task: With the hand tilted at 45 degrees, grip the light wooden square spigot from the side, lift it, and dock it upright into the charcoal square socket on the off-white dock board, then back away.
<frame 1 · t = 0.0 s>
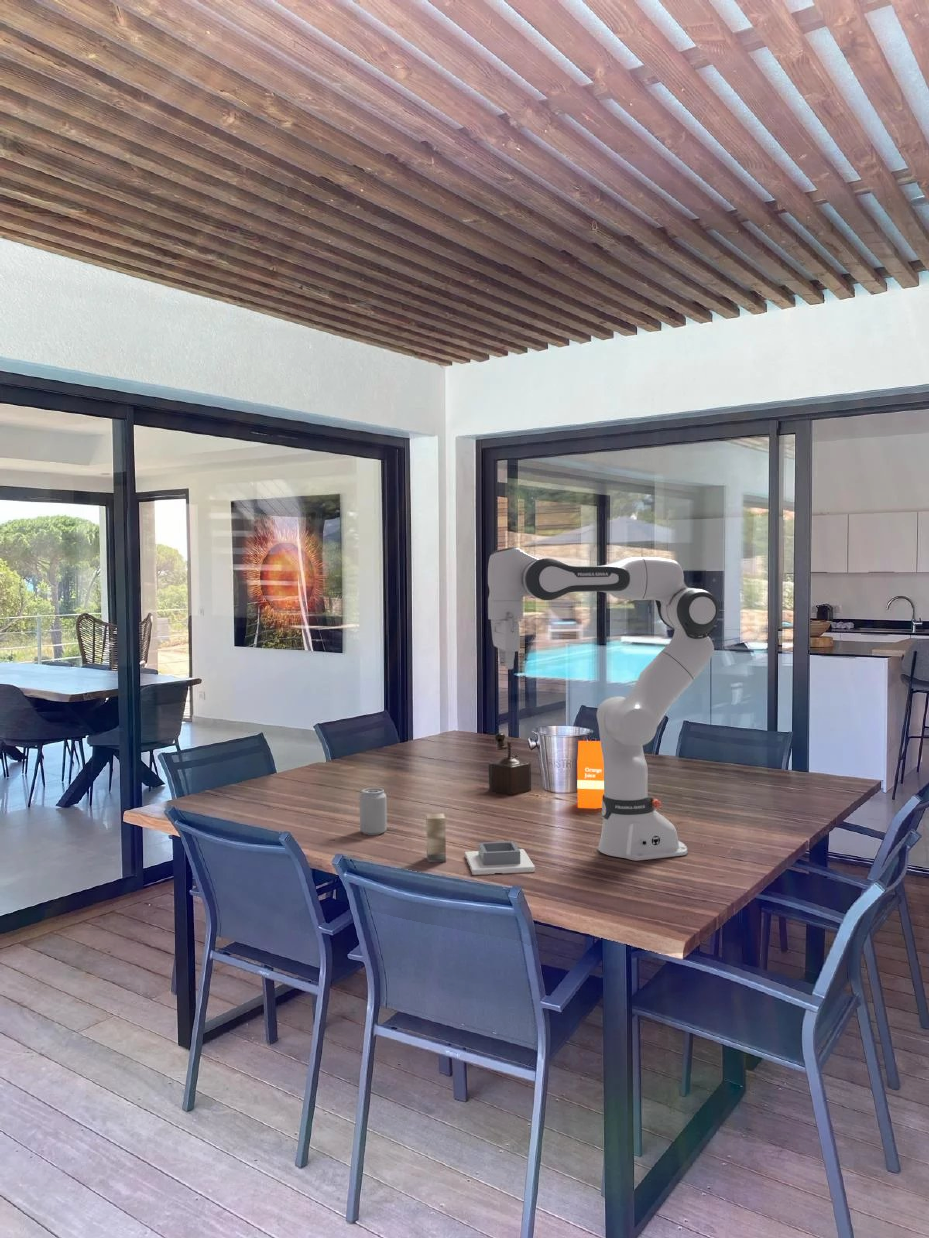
hand: (506, 667, 232), 48 cm above the table, tool pointing down, fingers open, 8 cm apart
dock: (499, 863, 228), on the table
can: (373, 833, 258), on the table
orange juice: (592, 805, 286), on the table
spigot: (436, 859, 232), on the table
manual coffee grinder: (505, 790, 309), on the table
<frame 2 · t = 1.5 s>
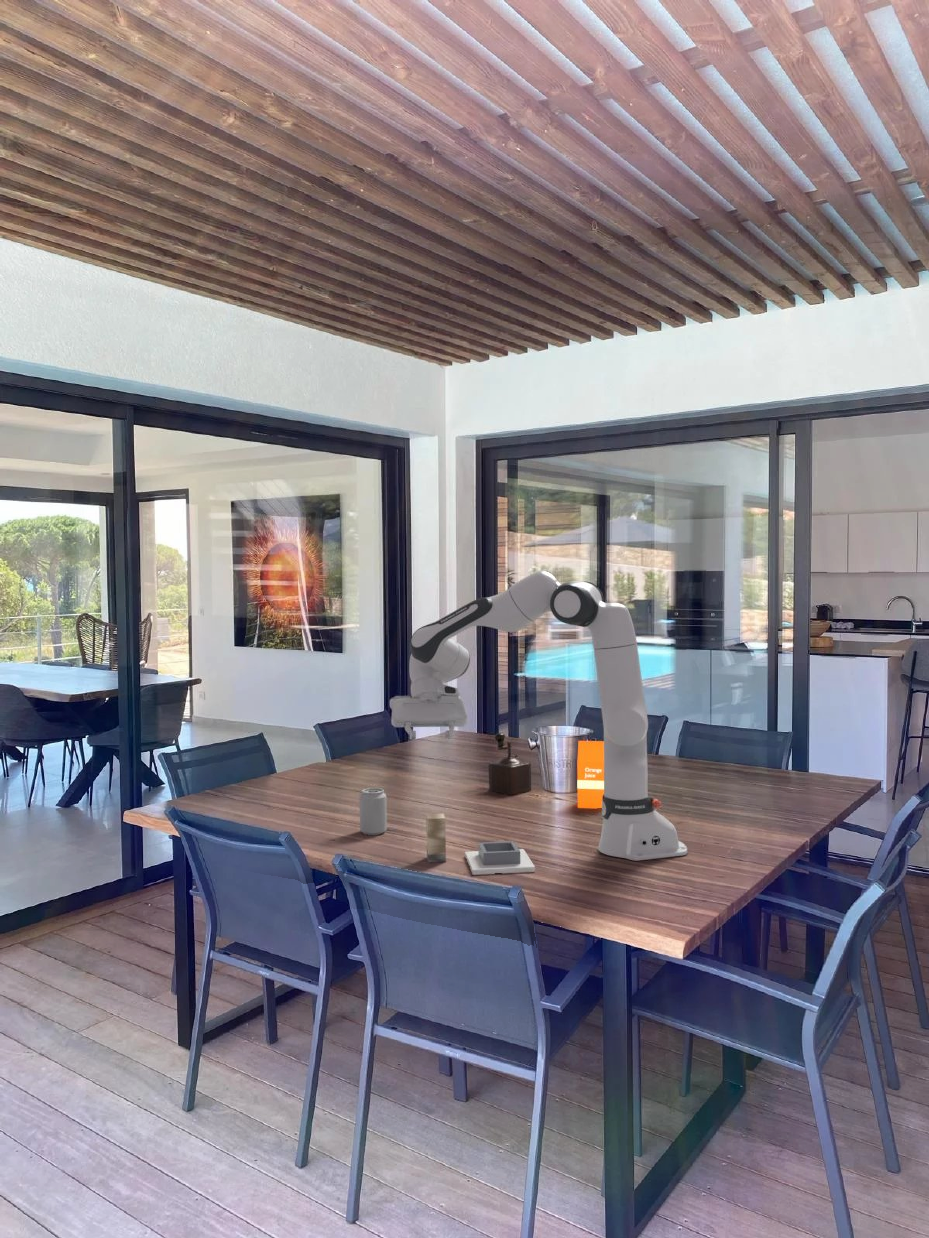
hand: (430, 738, 243), 29 cm above the table, tool tilted 45°, fingers open, 8 cm apart
nothing on the table moved.
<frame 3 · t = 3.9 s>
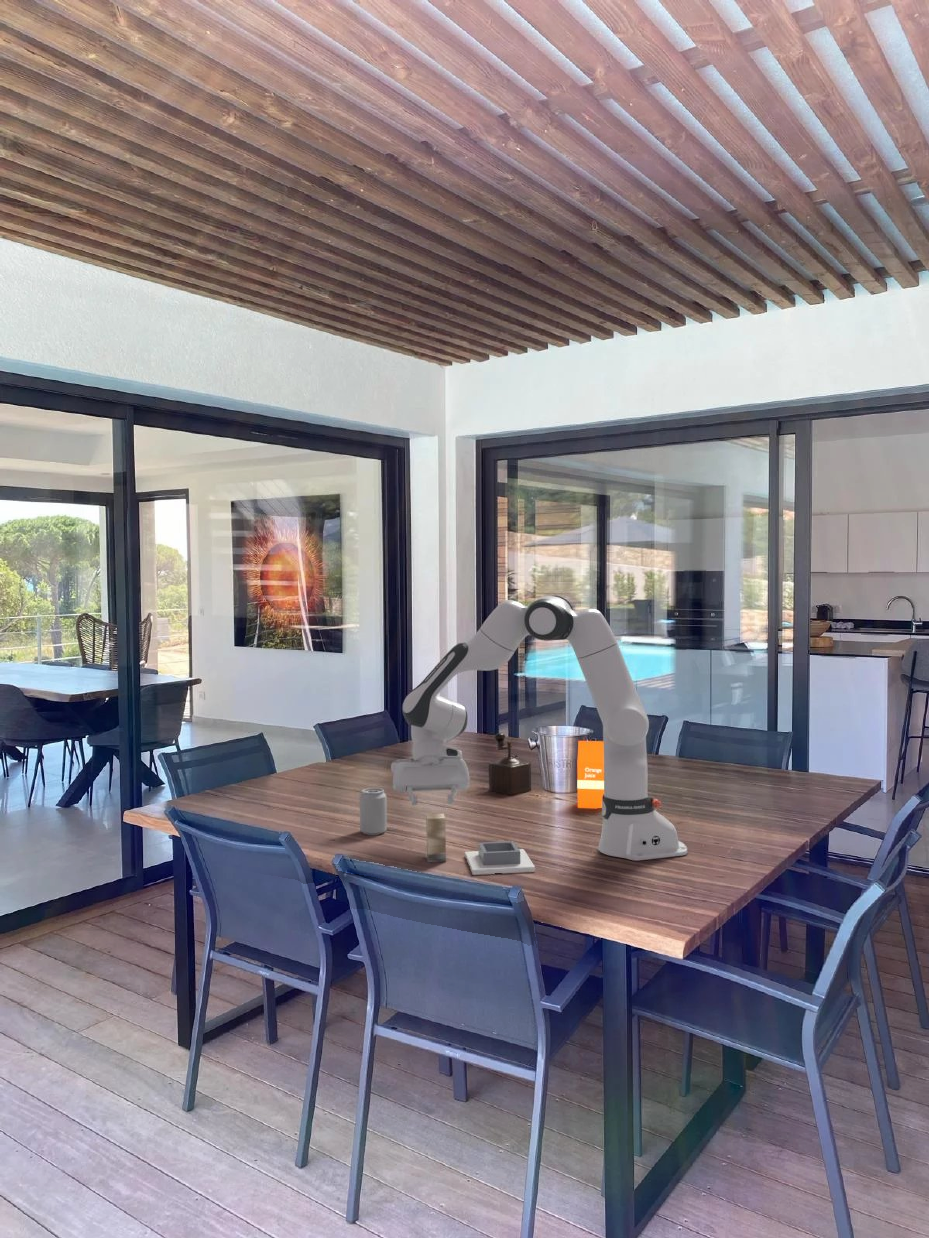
hand: (432, 803, 239), 12 cm above the table, tool tilted 45°, fingers open, 8 cm apart
nothing on the table moved.
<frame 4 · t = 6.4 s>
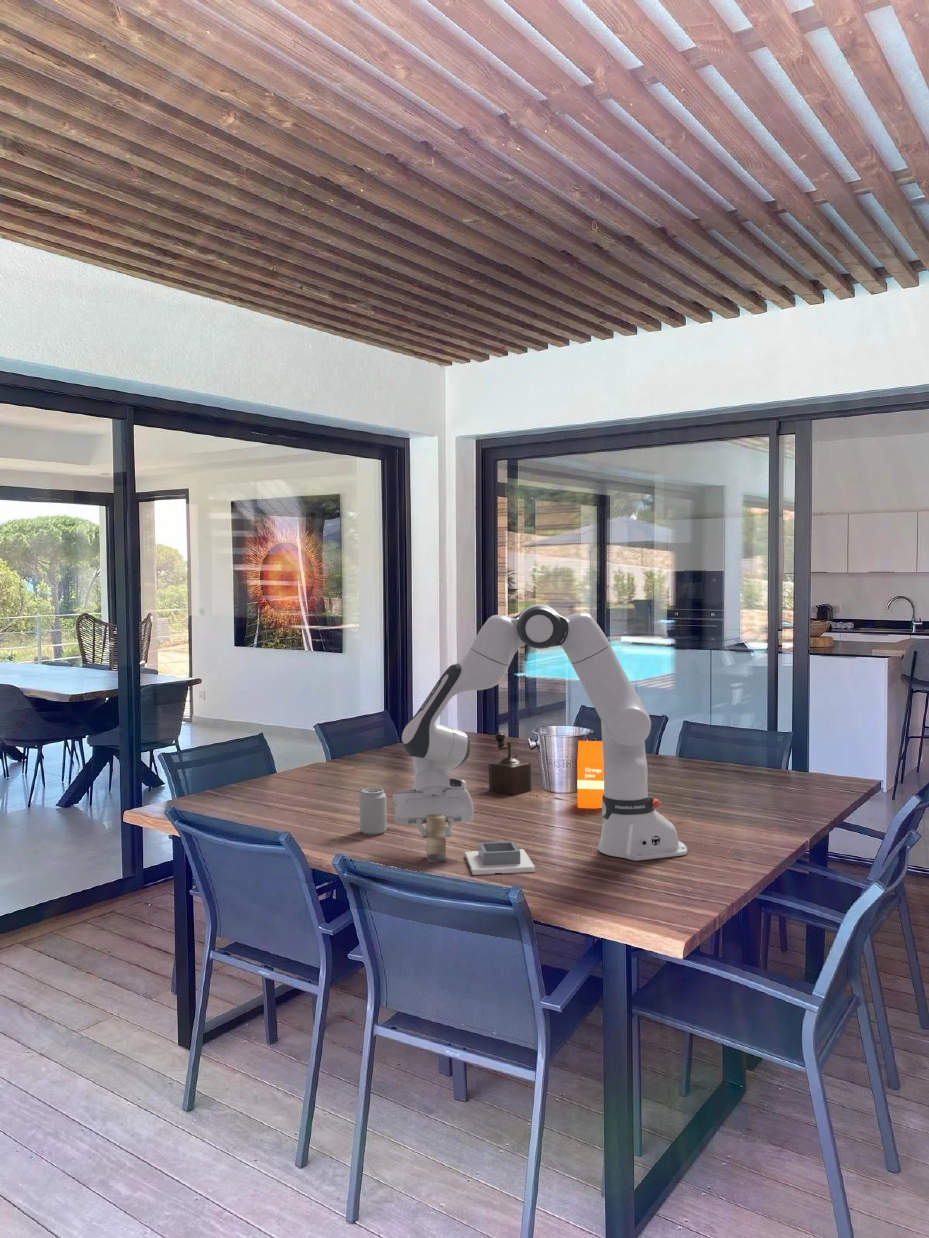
hand: (436, 836, 231), 6 cm above the table, tool tilted 45°, fingers closed on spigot, 4 cm apart
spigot: (436, 859, 232), on the table, touching gripper
everything else where it was.
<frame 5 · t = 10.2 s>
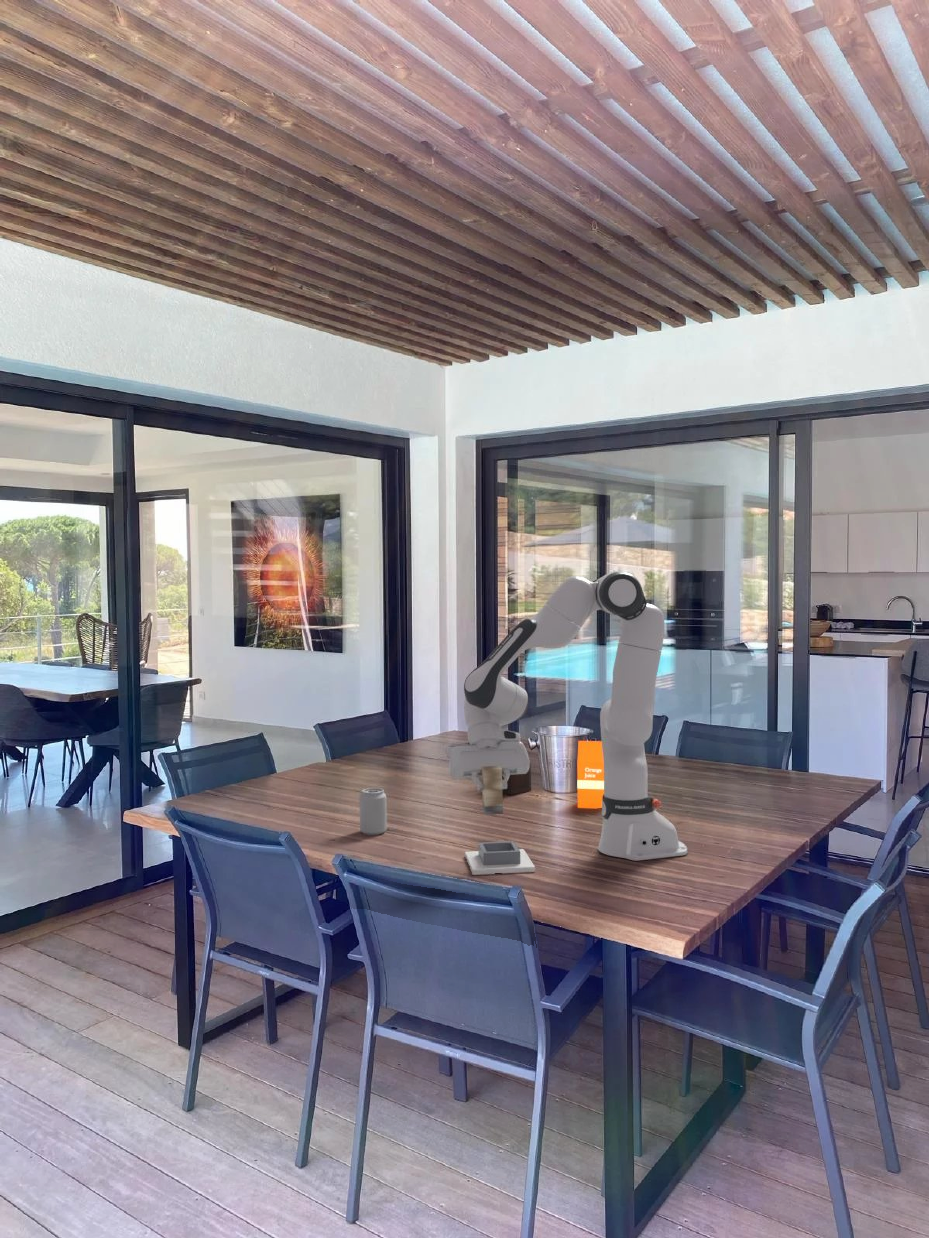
hand: (492, 788, 227), 19 cm above the table, tool tilted 45°, fingers closed on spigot, 4 cm apart
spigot: (492, 811, 228), point 13 cm above the table, touching gripper
everything else where it was.
when the fingers open (8 cm above the table, at t = 14.0 s): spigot drops 1 cm, resting on dock.
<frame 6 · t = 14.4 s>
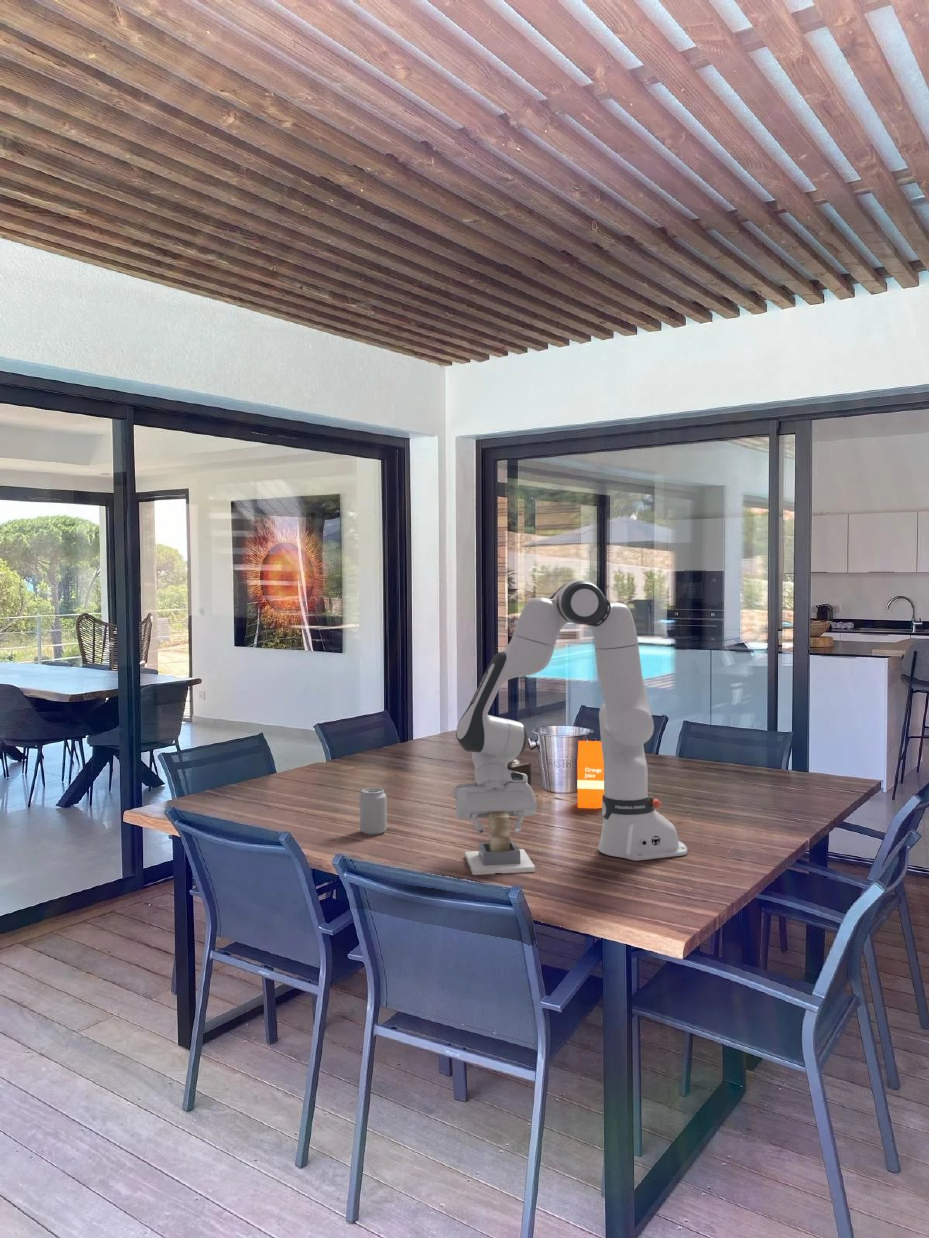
hand: (499, 830, 227), 8 cm above the table, tool tilted 45°, fingers open, 8 cm apart
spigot: (499, 858, 228), point 1 cm above the table, touching dock
everything else where it was.
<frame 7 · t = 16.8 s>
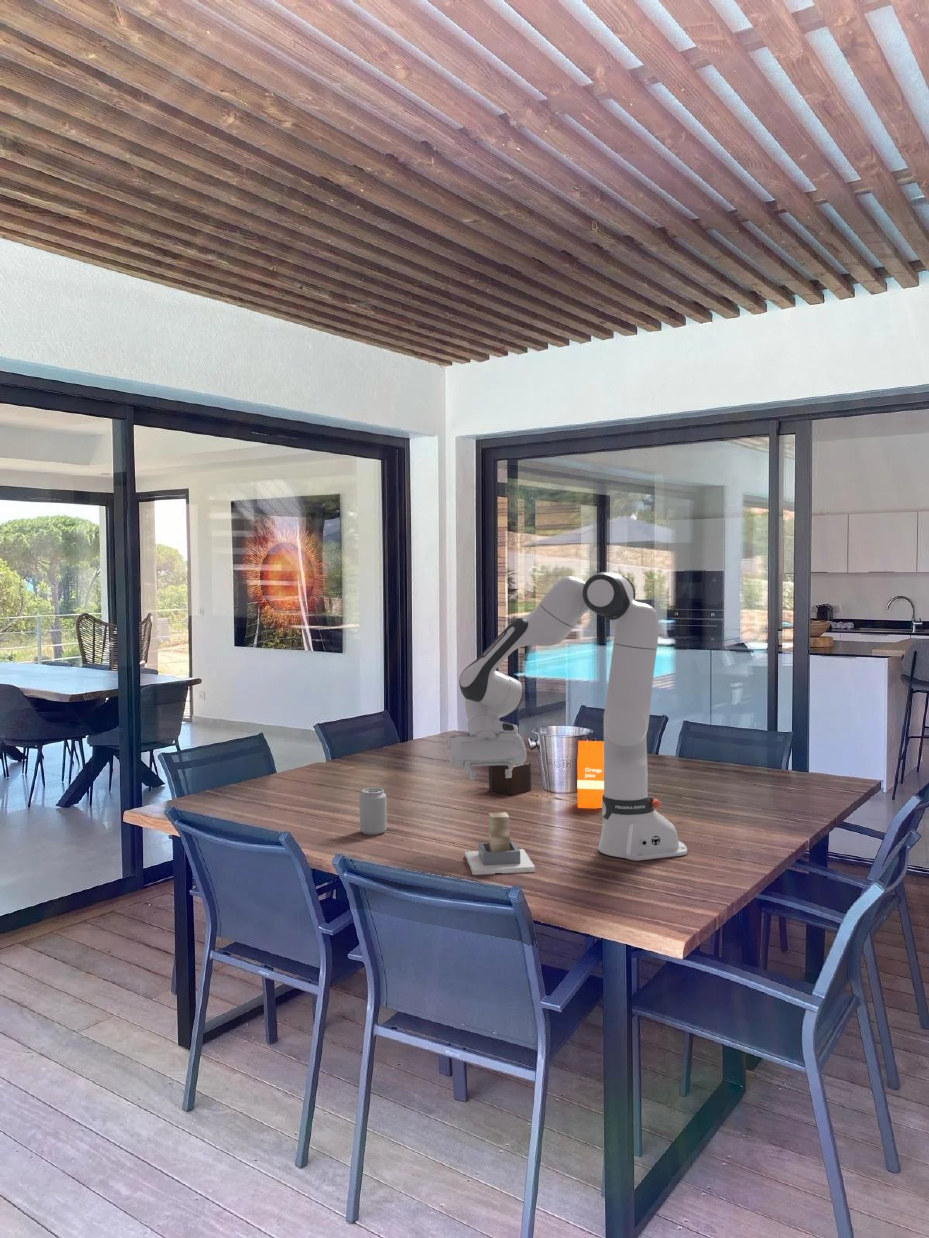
hand: (490, 777, 239), 19 cm above the table, tool tilted 45°, fingers open, 8 cm apart
nothing on the table moved.
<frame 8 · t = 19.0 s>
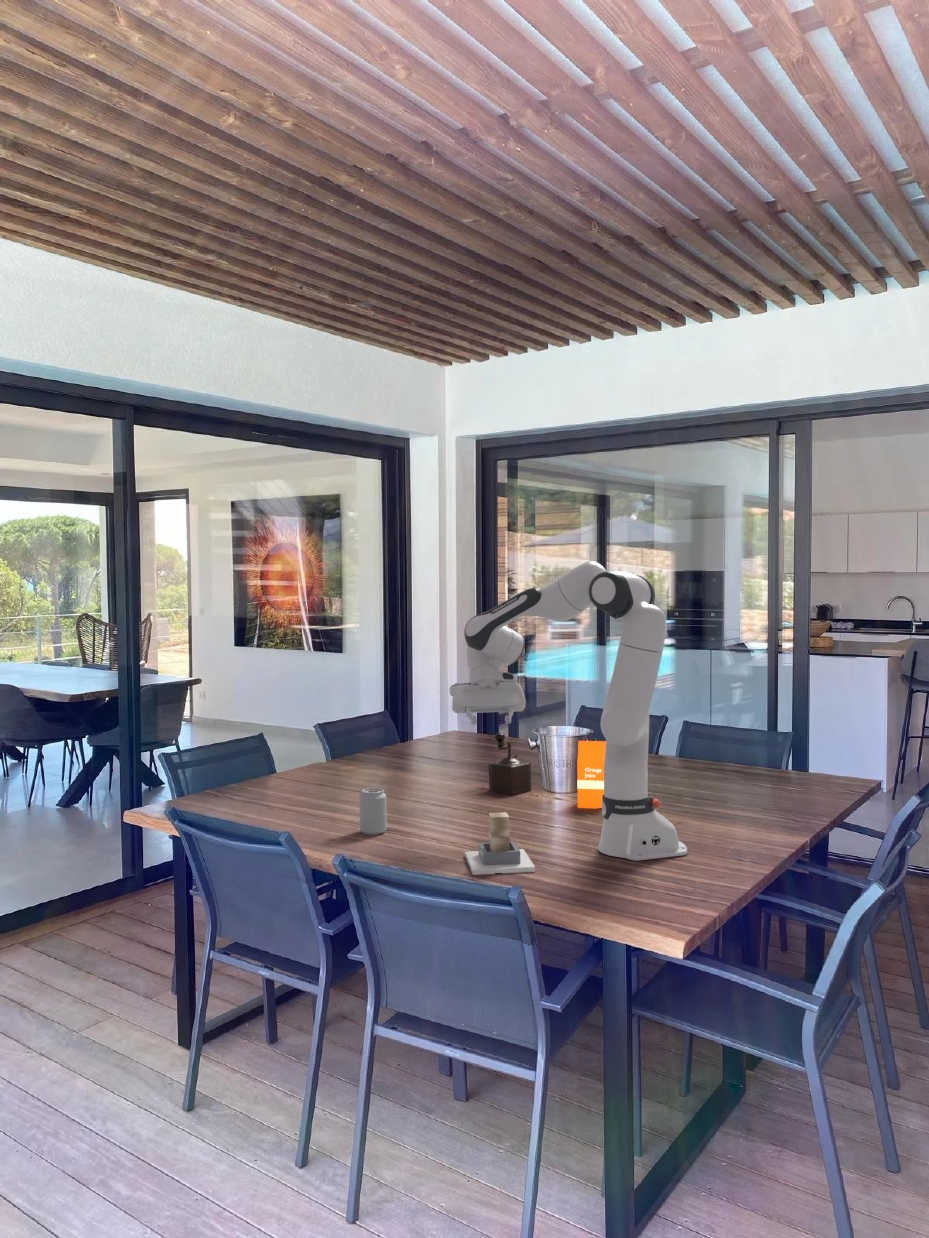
hand: (491, 722, 250), 31 cm above the table, tool tilted 45°, fingers open, 8 cm apart
nothing on the table moved.
at the end: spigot 0.1 cm off-centre on the dock, point 1.2 cm above the dock's base; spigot tilted 0°; the gripper is holding nothing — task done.
